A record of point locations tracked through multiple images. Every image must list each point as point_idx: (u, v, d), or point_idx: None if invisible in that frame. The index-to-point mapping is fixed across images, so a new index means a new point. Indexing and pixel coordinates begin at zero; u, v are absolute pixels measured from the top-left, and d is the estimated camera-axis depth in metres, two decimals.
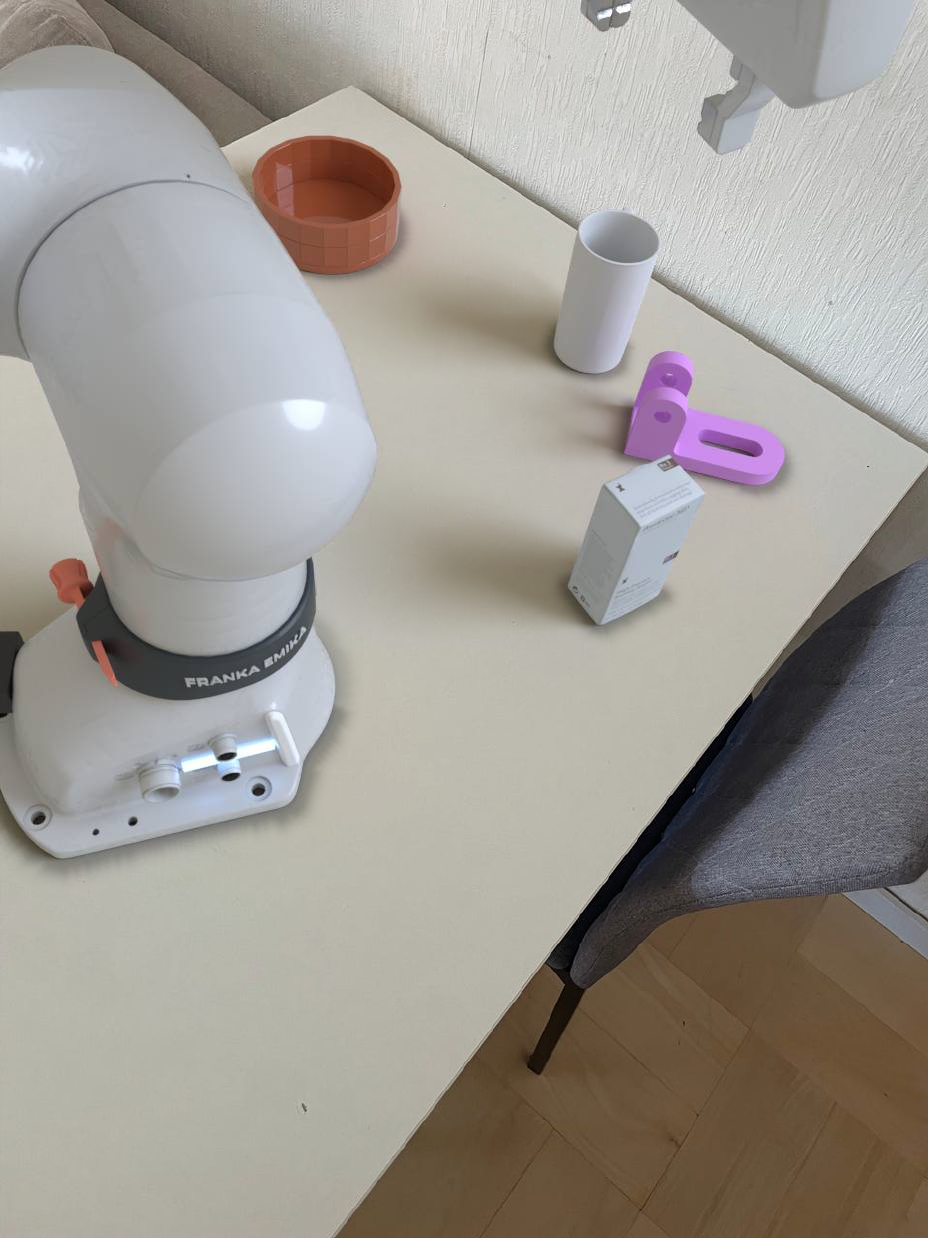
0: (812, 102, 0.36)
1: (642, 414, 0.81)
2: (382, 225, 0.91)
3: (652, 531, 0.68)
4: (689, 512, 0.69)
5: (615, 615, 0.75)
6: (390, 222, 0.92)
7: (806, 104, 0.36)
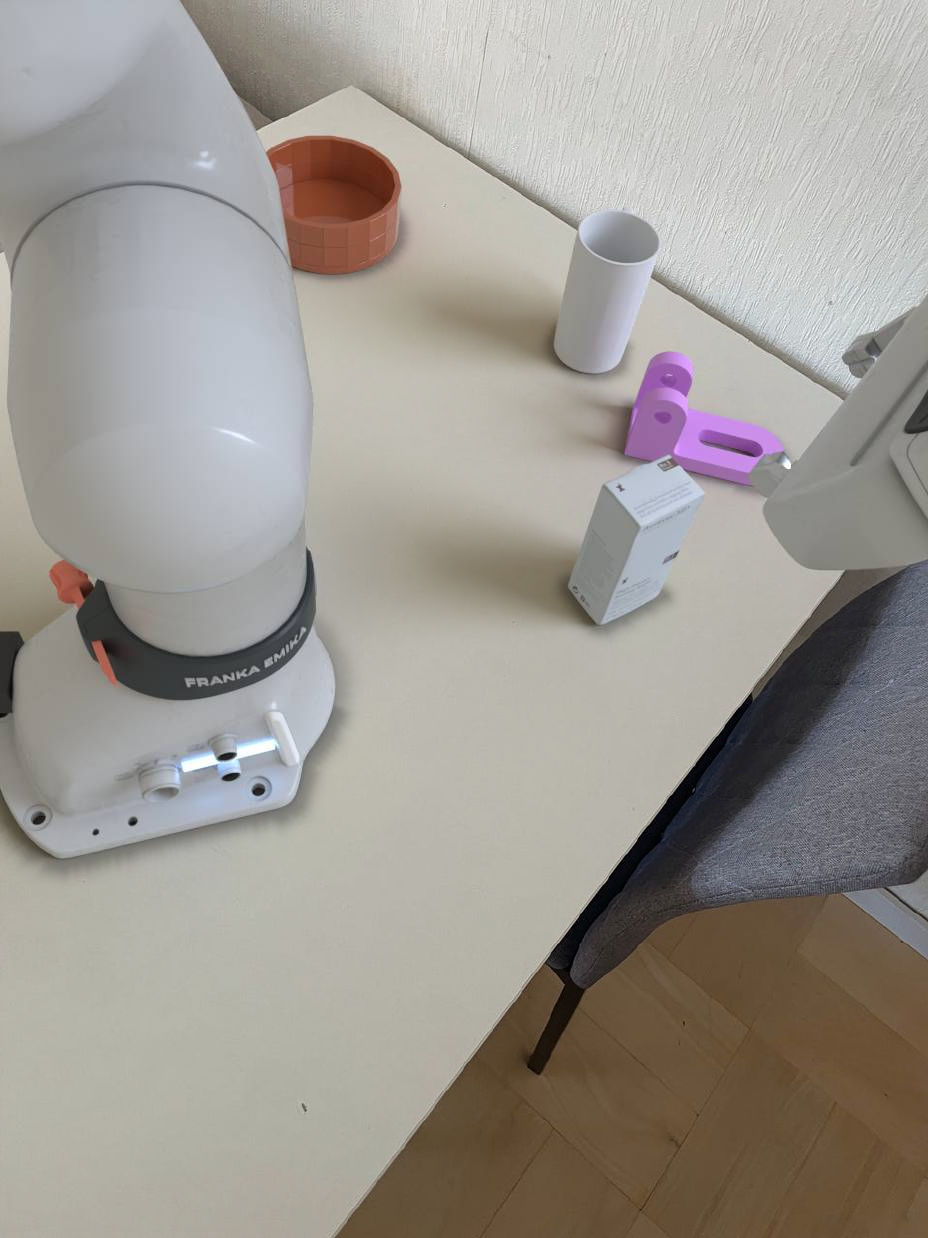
0: (766, 521, 0.47)
1: (642, 415, 0.81)
2: (382, 225, 0.91)
3: (652, 531, 0.68)
4: (689, 512, 0.69)
5: (615, 615, 0.75)
6: (390, 222, 0.92)
7: None
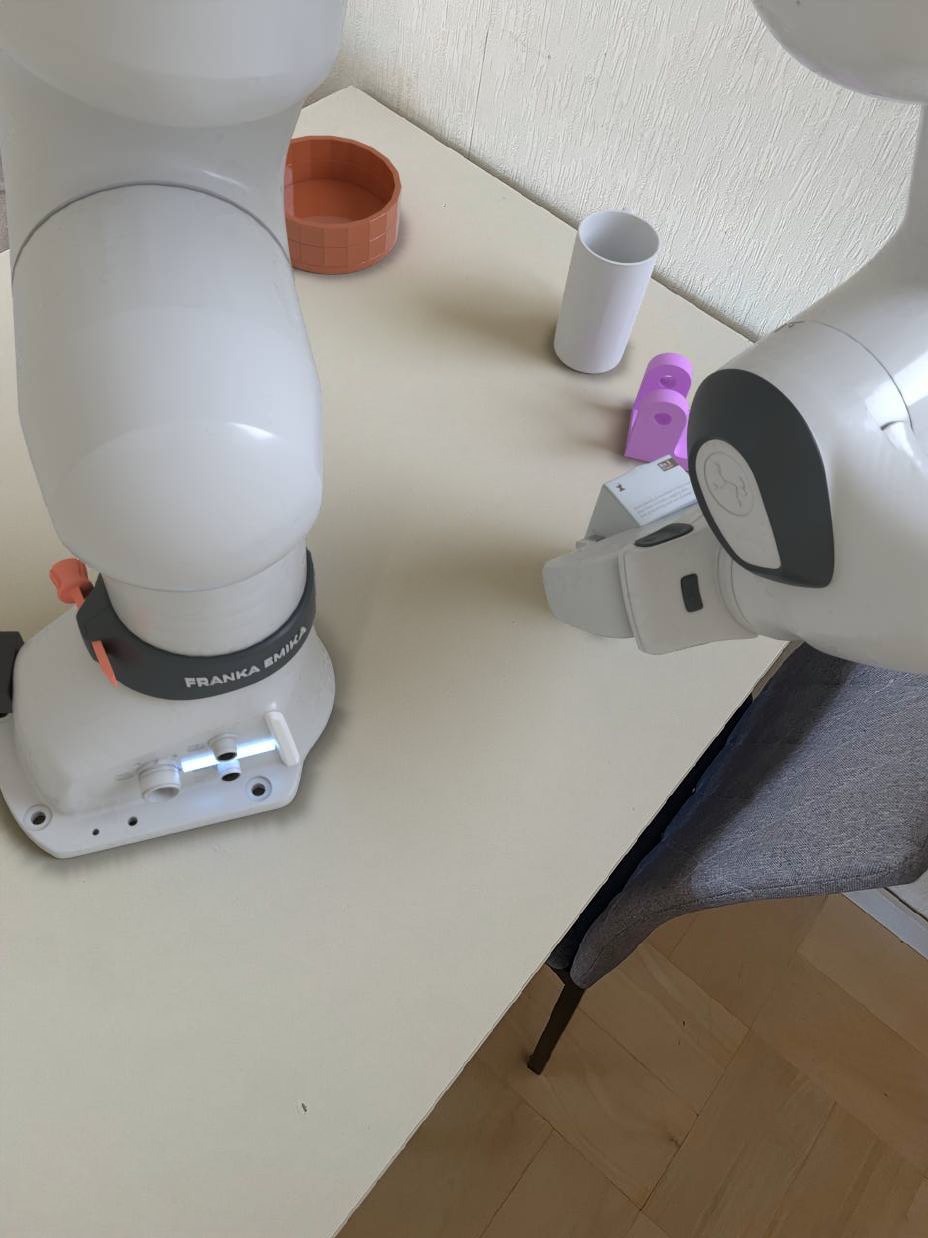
0: None
1: (642, 416, 0.81)
2: (382, 225, 0.91)
3: None
4: None
5: None
6: (390, 222, 0.92)
7: None
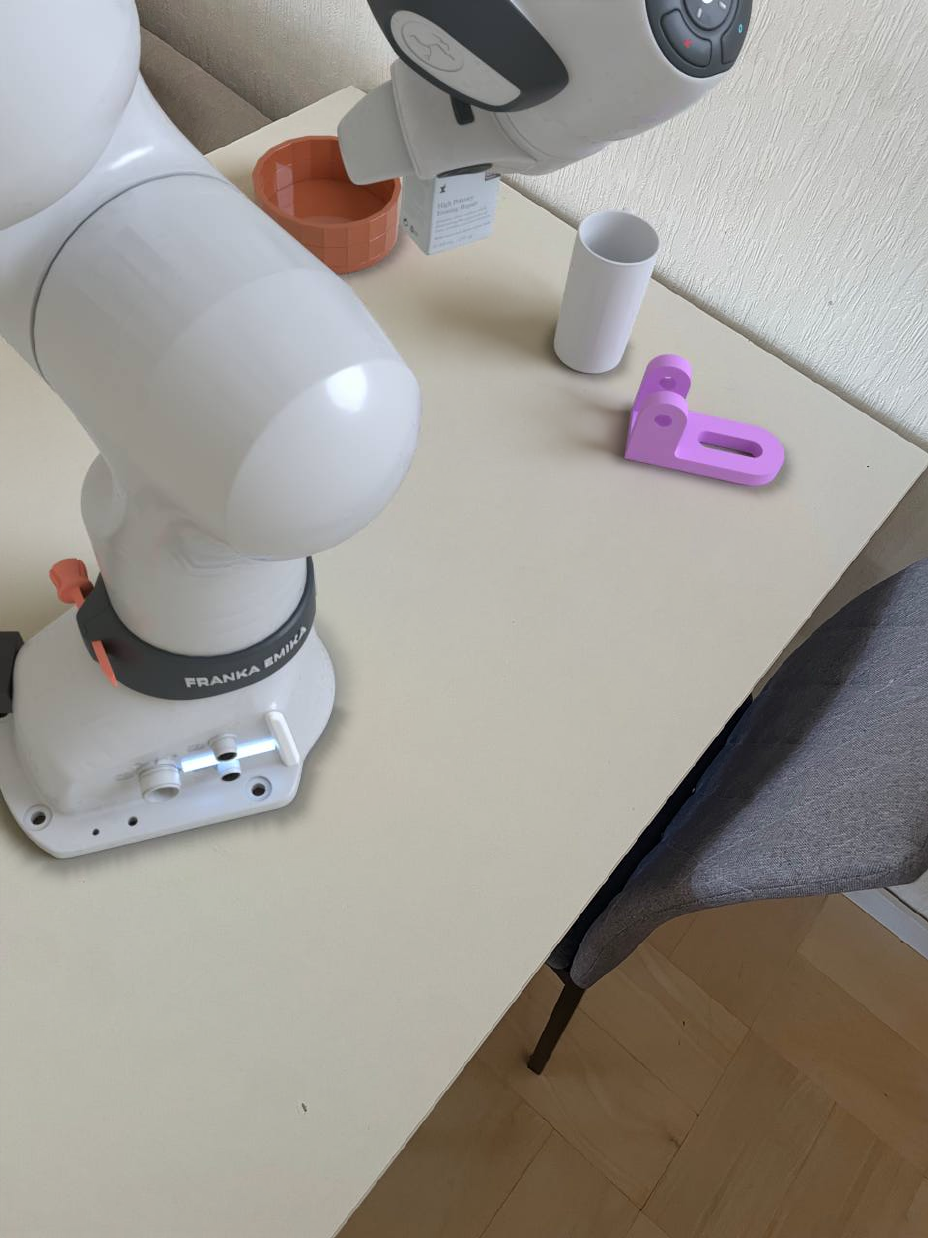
0: None
1: (642, 418, 0.81)
2: (382, 225, 0.91)
3: None
4: None
5: (444, 244, 0.76)
6: (390, 222, 0.92)
7: None
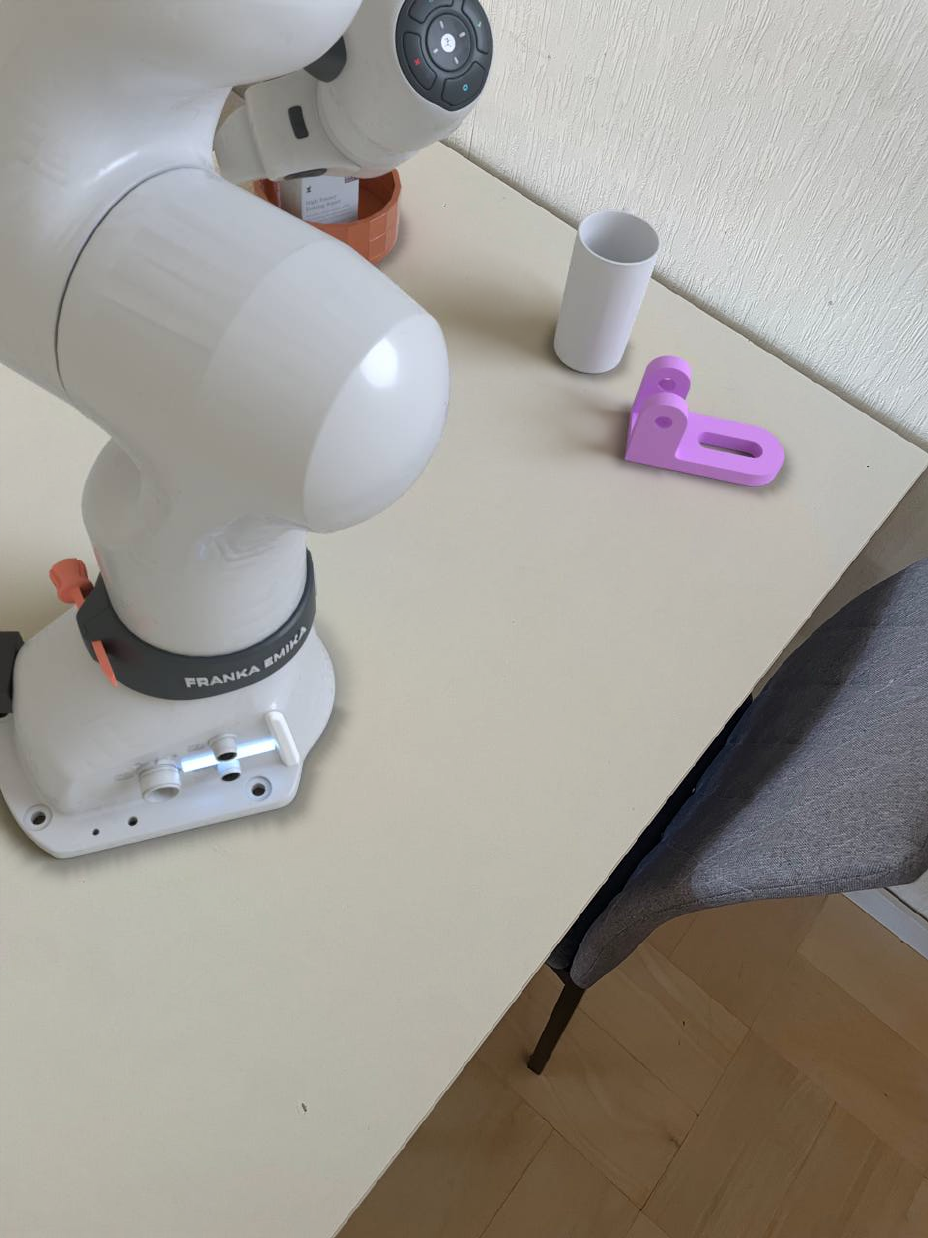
0: None
1: (643, 420, 0.81)
2: (382, 225, 0.91)
3: None
4: None
5: None
6: (390, 222, 0.92)
7: None
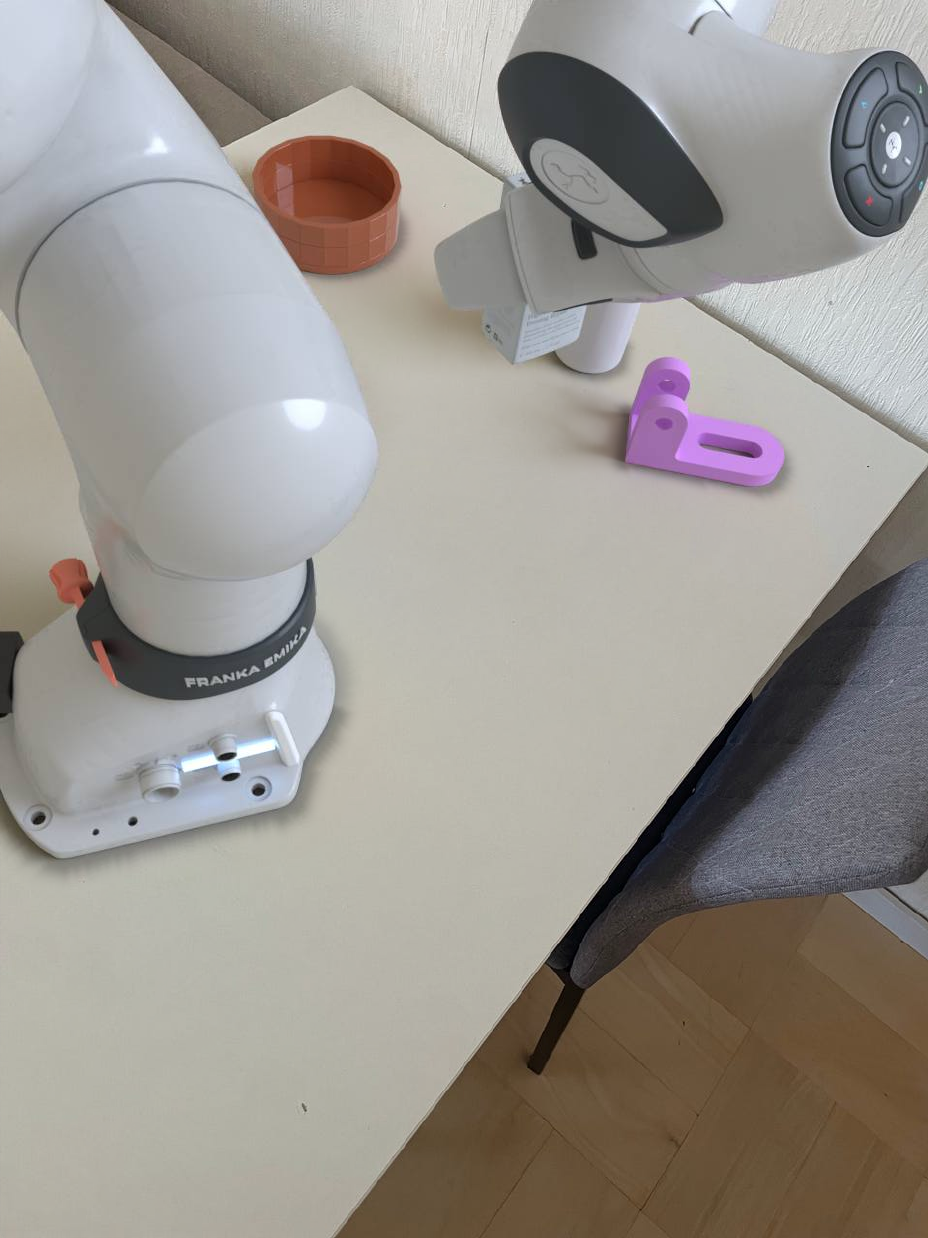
0: None
1: (643, 422, 0.80)
2: (382, 225, 0.91)
3: None
4: None
5: (531, 353, 0.71)
6: (390, 222, 0.92)
7: None
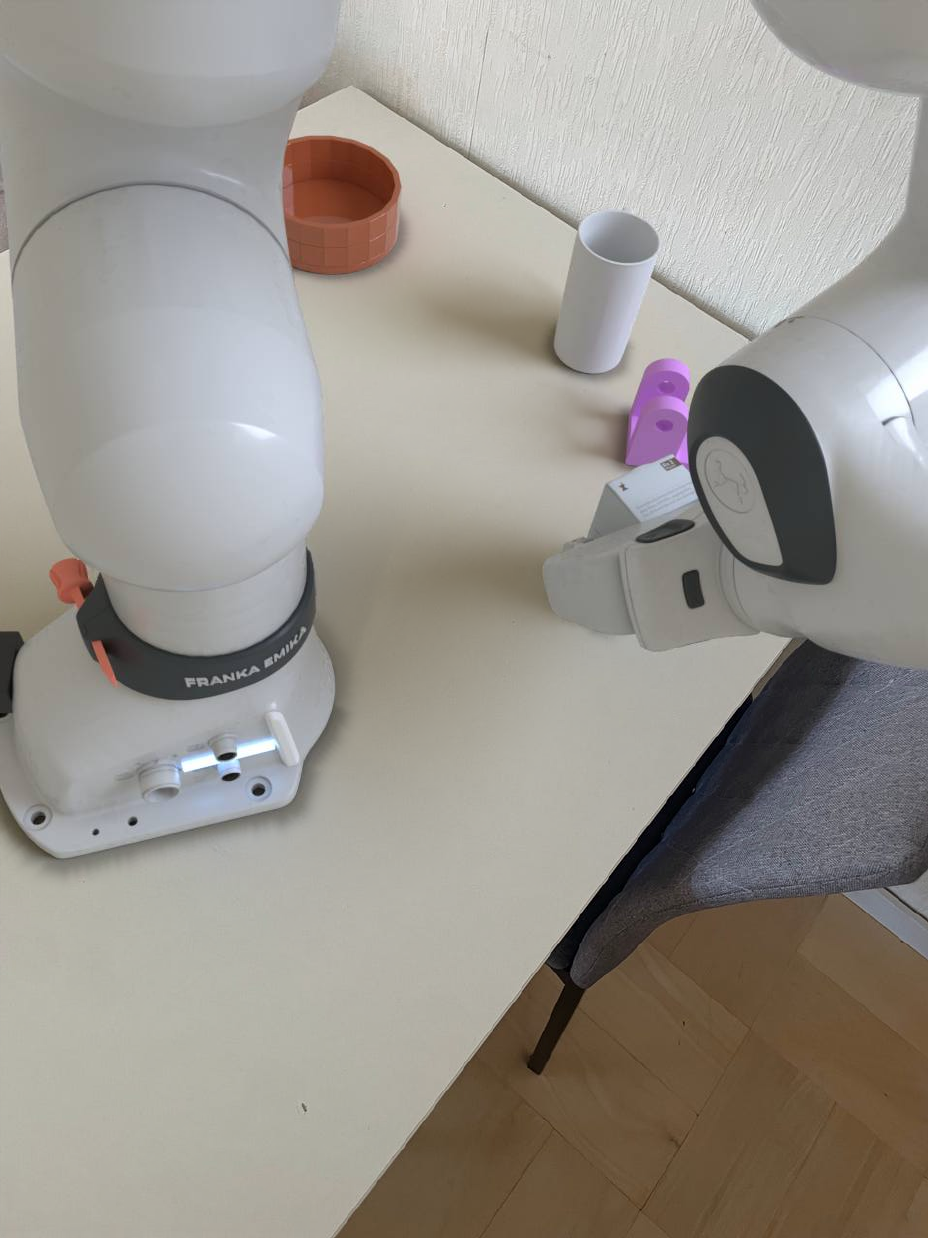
0: None
1: (643, 424, 0.80)
2: (382, 225, 0.91)
3: None
4: None
5: None
6: (390, 222, 0.92)
7: None
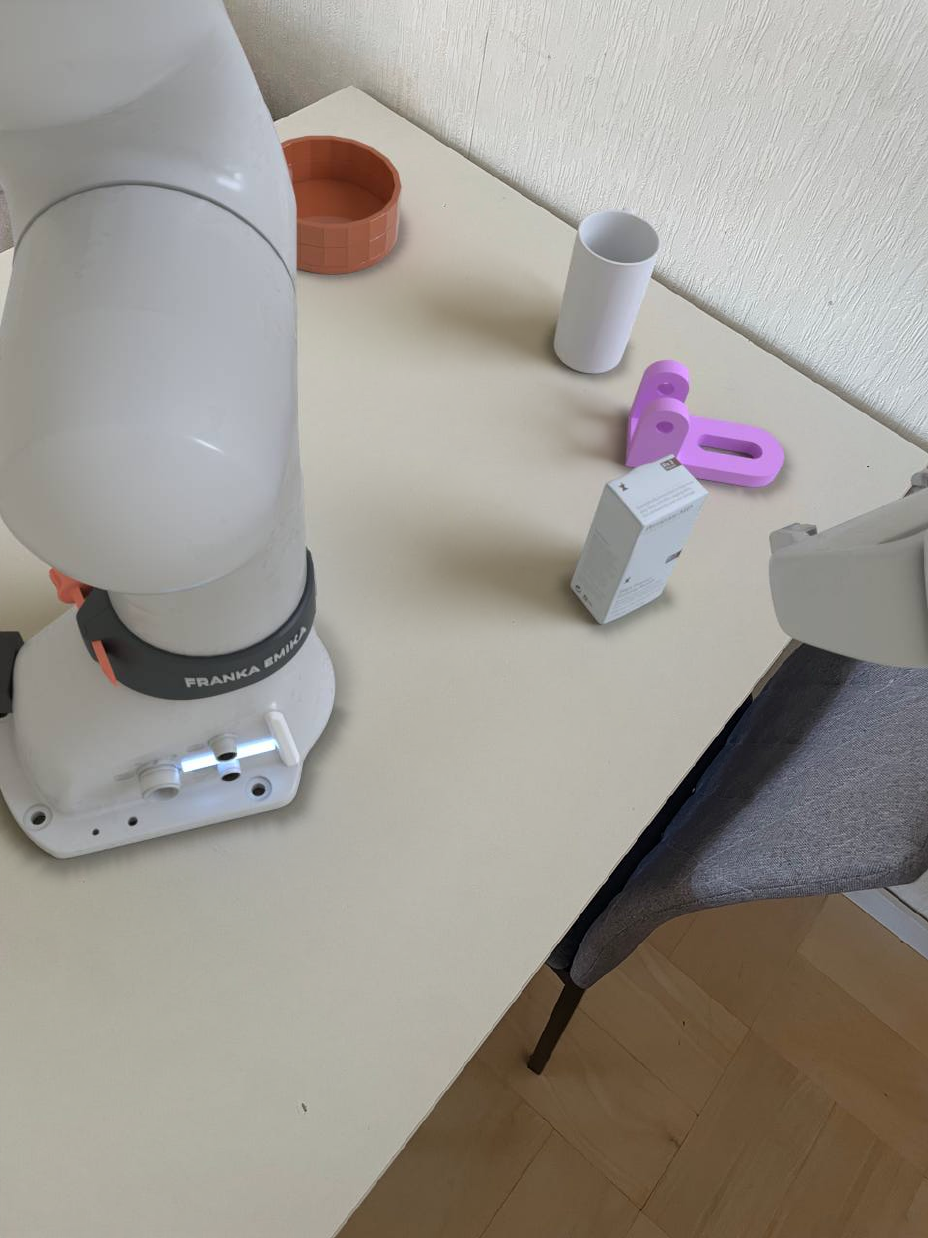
0: (769, 568, 0.44)
1: (644, 426, 0.80)
2: (382, 225, 0.91)
3: (654, 530, 0.68)
4: (691, 512, 0.69)
5: (618, 614, 0.76)
6: (390, 222, 0.92)
7: None
